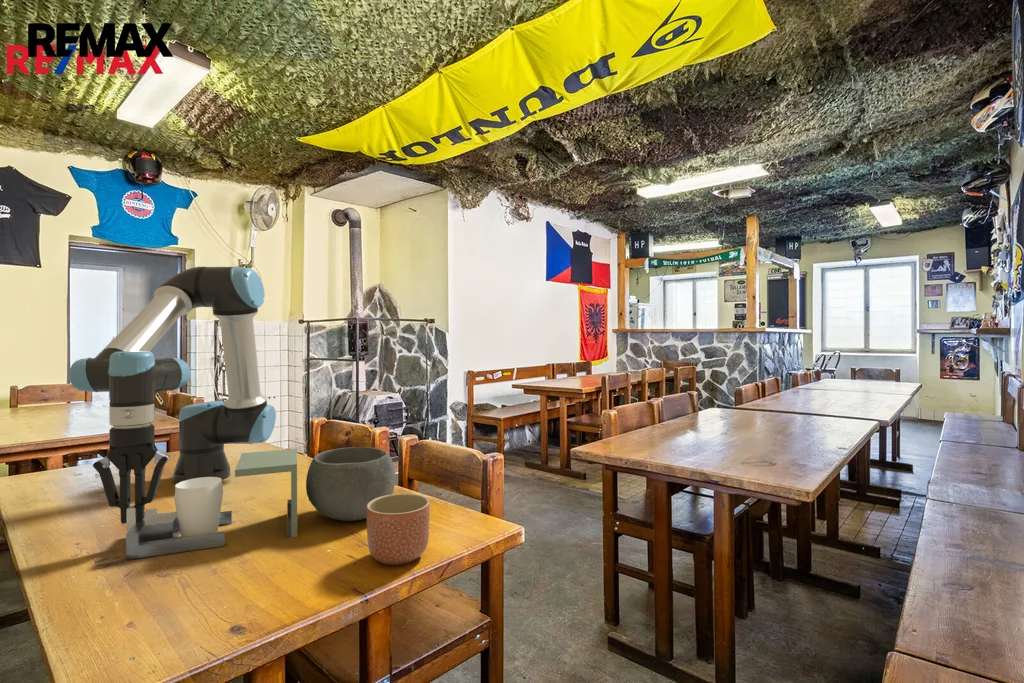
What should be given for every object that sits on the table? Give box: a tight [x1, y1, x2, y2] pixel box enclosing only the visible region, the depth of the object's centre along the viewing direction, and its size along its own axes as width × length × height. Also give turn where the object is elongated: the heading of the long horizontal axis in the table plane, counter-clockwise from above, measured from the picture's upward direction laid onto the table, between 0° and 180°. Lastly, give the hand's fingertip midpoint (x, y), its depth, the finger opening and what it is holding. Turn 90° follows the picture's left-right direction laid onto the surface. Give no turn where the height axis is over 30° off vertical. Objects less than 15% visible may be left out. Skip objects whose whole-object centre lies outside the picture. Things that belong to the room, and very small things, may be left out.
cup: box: [174, 477, 224, 537], centre depth 110 cm, size 9×9×12 cm
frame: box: [125, 508, 233, 561], centre depth 109 cm, size 15×17×5 cm
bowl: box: [305, 446, 397, 522], centre depth 124 cm, size 21×21×15 cm
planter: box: [365, 493, 431, 566], centre depth 100 cm, size 12×12×11 cm
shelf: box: [234, 448, 298, 539], centre depth 115 cm, size 16×12×16 cm
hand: (132, 537), depth 105 cm, fingers closed
